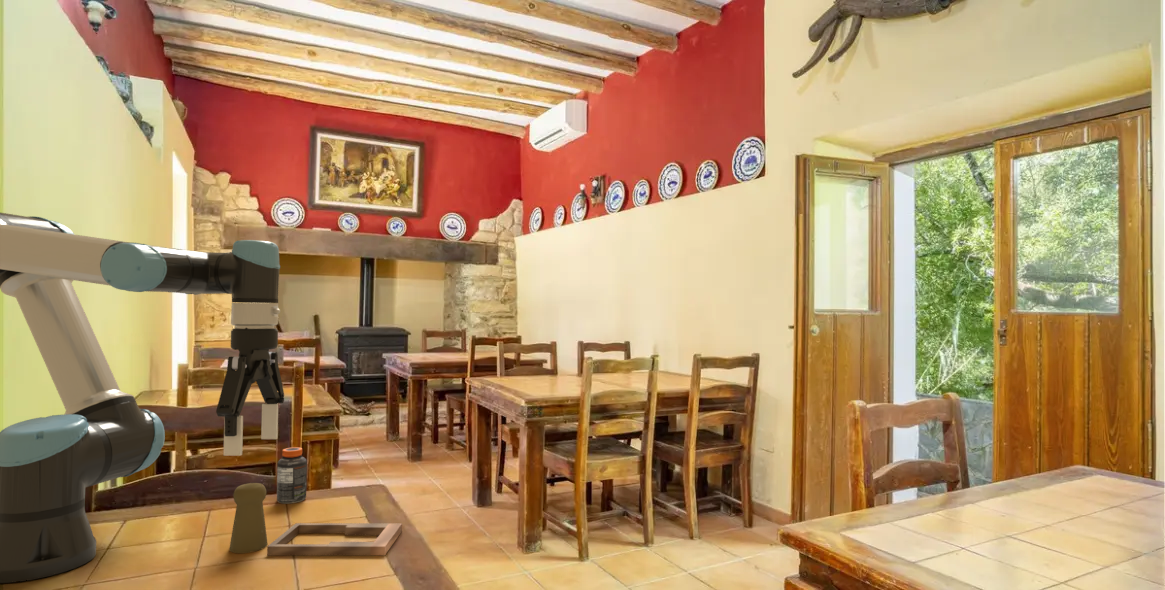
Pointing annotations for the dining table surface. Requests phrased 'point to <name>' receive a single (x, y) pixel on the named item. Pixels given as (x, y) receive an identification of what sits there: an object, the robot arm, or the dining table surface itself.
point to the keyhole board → (378, 547)
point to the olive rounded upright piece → (249, 519)
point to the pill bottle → (291, 476)
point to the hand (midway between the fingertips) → (252, 446)
